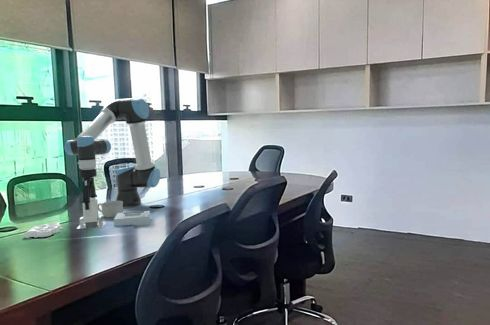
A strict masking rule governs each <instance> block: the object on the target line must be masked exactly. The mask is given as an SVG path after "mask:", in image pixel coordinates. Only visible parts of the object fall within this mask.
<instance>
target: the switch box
mask: <svg viewBox="0 0 490 325" xmlns="http://www.w3.org/2000/svg"><path fill="white" fill-rule="evenodd" d="M150 222H151V210H142V211H130V212H129V211H127V212H123V213H117V215H116V216H115V217H113V226H114V227H117V226H118V227H120V226H130V225H133V227H137V226H138V227H139V226H149V225H150Z"/></svg>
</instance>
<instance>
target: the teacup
mask: <svg viewBox="0 0 490 325" xmlns="http://www.w3.org/2000/svg"><path fill="white" fill-rule="evenodd" d="M100 206H101V208H100ZM98 212H100V213H101V215H103V218H104V217H105V218H107V219H108V218H109V219H110V218H111V219H112V218H113V219H114V218H115V216H116V215H117V213H124V206H123V202H122V201H116V200H109V201H104V202H102V203H100V202H99V203H98Z"/></svg>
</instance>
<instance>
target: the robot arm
mask: <svg viewBox="0 0 490 325" xmlns="http://www.w3.org/2000/svg"><path fill="white" fill-rule="evenodd" d="M149 115H150V107H149V105H148V102H147V101H146V100H145V99H144V98H138V97H131V98H130V97H129V98H118V99H115V100H113V101H111V102H109V103H108V104H106V105H105V106H104V107H102V109H101V110H100V111H99V114H98V115H97V116H96V118H95V119H93V120H92V121H91V122H90V123H89V124H88V125H87V126H86V128H84V130H82V131H81V133H80V134H78V135H77V137H76V138H74V139H71V140H66V142H65V143H64V151H65V153H66V154H67V155H69V156H78V162H77V165H78V168H79V170H78V172H79V177H80V178H82V179H84V180H82V201H81V203H82V204H83V203H84V209H85V217H90V216H91V202H90V200H96V199H97V197H98V194H97V192H96V185H95V177H97V176H98V175H97V169H96V168H97V159H96V156H99V155H106V154H109V153H110V151H111V149H112V144H111V142H110V141H109V140H108V139H106V138H105V139H103V138H100V139H98V138H99V136H101V134H102V133H103V132H104V131H105V130H106V129H107V128H108V127H109V126H110V125H112V124H115V122H116V121H120V120H125V123H126V125H128V126H129V130H130V136H131V141H132V146H133V151H134V156H135V161H136V165H132V166H127V167H126V166H125V167H120V168H118V169H117V170H116V182H117V183H116V185H117V186H116V187H117V194H116V198H115V201H122V202H123V207H133V206H134V207H135V206H137V205H140V204H142V199H141V196H140V194H139V192H138V188H141V189H142V188H148V189H151V188H156V187H158V184H159V183H160V180H161V172H160V169H159V168H157V167H156V166H155V165H156V164H155V163H153V162H152V158H151V152H150V151H151V150H150V146H149V141H148V137H147V136H148V134H147V131H146V125H145V123H146V122H147V121H148V120H147V118H148V117H149Z"/></svg>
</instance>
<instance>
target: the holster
mask: <svg viewBox="0 0 490 325" xmlns="http://www.w3.org/2000/svg"><path fill="white" fill-rule="evenodd" d="M106 224H107V221H104V216H103V214H100V215H98V225H97V226H86V227H85V223H84V216H81V217H79V225H78V226H77V227H76V230H78V229H79V230H80V229H92V228H103V227H104V226H105V225H106Z"/></svg>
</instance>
